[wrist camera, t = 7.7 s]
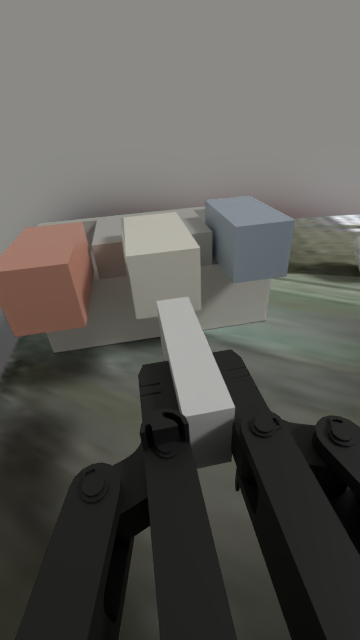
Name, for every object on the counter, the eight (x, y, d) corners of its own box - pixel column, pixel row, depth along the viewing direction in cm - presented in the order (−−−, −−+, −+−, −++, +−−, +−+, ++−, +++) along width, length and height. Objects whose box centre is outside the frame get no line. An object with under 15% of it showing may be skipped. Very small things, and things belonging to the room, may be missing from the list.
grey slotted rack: (238, 284, 35) (242, 202, 30) (265, 320, 29) (278, 223, 23) (66, 307, 33) (39, 223, 28) (53, 352, 26) (15, 254, 21)
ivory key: (179, 261, 25) (175, 211, 23) (201, 310, 18) (200, 247, 16) (131, 267, 24) (123, 217, 22) (136, 319, 18) (126, 256, 16)
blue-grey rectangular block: (246, 240, 28) (249, 195, 26) (286, 276, 21) (295, 220, 19) (205, 245, 27) (205, 200, 25) (233, 283, 21) (235, 226, 19)
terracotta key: (94, 271, 24) (82, 221, 22) (85, 326, 17) (67, 263, 15) (43, 277, 24) (26, 227, 21) (15, 337, 17) (-15, 273, 15)
